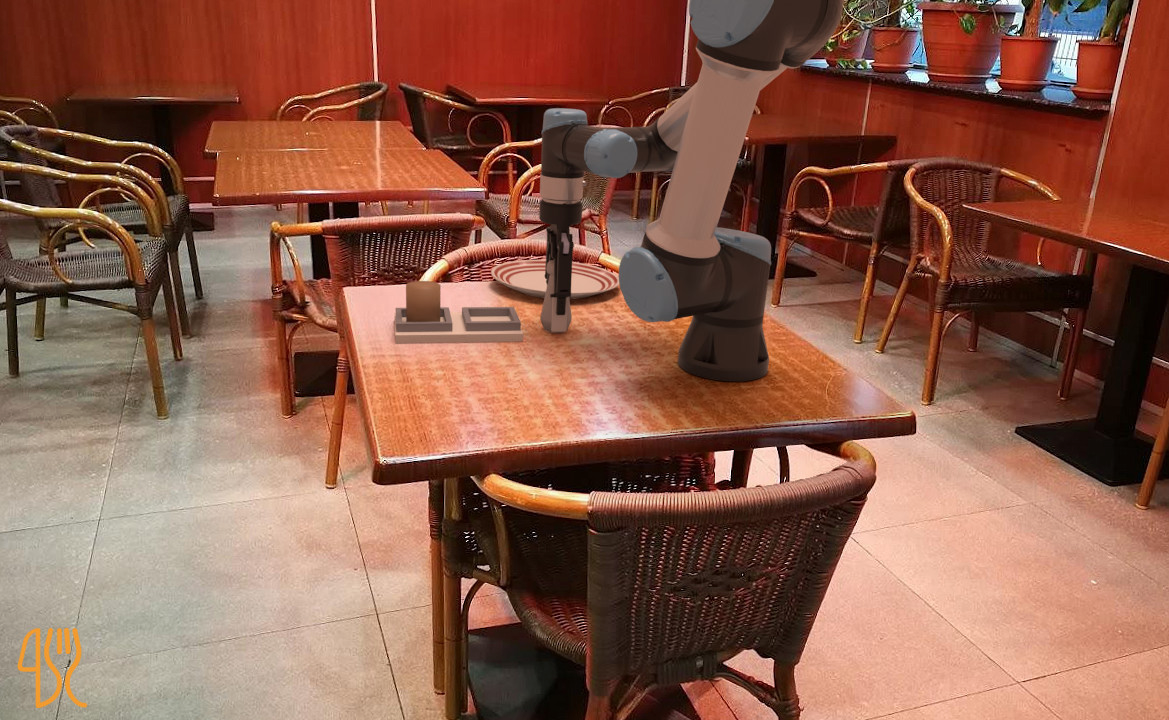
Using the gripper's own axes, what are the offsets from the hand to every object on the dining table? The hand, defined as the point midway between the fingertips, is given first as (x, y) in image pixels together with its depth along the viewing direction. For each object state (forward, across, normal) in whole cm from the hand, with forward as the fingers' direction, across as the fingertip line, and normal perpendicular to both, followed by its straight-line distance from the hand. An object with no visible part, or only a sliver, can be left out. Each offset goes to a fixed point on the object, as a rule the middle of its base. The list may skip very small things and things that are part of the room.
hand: (555, 325), depth 174 cm
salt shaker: (+1, 0, 0) cm, 1 cm away
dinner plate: (+1, +29, -5) cm, 29 cm away
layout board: (+1, 0, +18) cm, 18 cm away
